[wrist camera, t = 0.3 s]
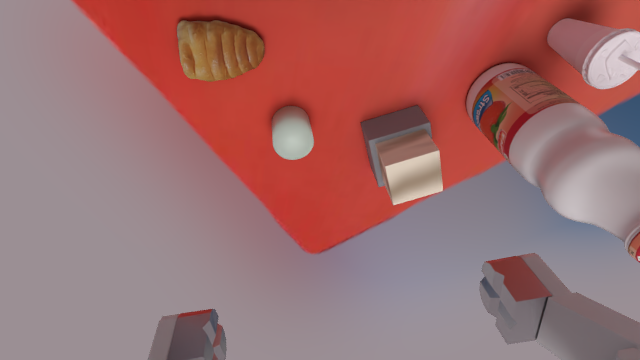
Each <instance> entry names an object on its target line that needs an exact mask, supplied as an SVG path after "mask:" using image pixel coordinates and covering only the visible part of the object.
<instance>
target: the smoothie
mask: <svg viewBox="0 0 640 360" xmlns="http://www.w3.org/2000/svg"><path fill="white" fill-rule="evenodd" d="M547 43H548V45H549V46H550V47H551V48H552V49H553V50H555V51H556V52H557V53H558V54H559V55H560V56H561V57H562V58H564V59H565V60H566V61H567V62H568V63H569V64H570V65H572V66H573V67H574V68H575V69H576V70H577V71H578V72H579V73H580V74H582V75H583V79H584V80H585V82H586V83H587V84H589V85H590V86H593V87H595V88H597V89H609V88H613V87H615V86H618V85H620V84H622V83H623V82H625V81H626V80H628V79H629V78H630V77H631V76H632V75H633V74H634V73H635V72H636V71H637V70H640V32H637V31H636V30H634V29H629V28H626V29H616V28H611V27H606V26H602V25H597V24H593V23H588V22H584V21H579V20H574V19H570V18H566V19H562V20H560V21H558V22H557V23H556V24H555V25H554V26H553V27H552V28H551V29H550V31H549V33H548V36H547Z"/></svg>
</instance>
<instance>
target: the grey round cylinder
mask: <svg viewBox="0 0 640 360" xmlns="http://www.w3.org/2000/svg"><path fill="white" fill-rule="evenodd" d="M272 136H273V147H274V149H275V151H276V153H277V154H278V155H280V156H281V157H283V158H285V159H290V160H295V159H300V158H302V157H304V156H306V155H307V154H308V153H309V152H310V151H311V150H312V148H313V144H314V139H313V134H312V130H311V125H310V121H309V117H308V115H307V113H306V112H305V111H304V110H303V109H301V108H299V107H296V106H286V107H283V108H281V109H279V110H278V111H277V112H276V113H275V114H274V116H273V118H272Z"/></svg>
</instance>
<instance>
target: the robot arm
mask: <svg viewBox="0 0 640 360" xmlns="http://www.w3.org/2000/svg"><path fill="white" fill-rule="evenodd" d="M482 272H483V274H484V275H485V277H484V278H483V279H482V280H481V281H480V295H481V299H482V302H483V304H484V306H485V308H486V310H487V311H488V313H490V314H491V315H493V316H495V317H496V318H497V319H496V327H497V328H498V330H499V332H500V333H501V335H502V337H503V338H504V340H505V342H506V343H507V344H513V343H519V342H526V341H533V340H536V342H537V343H539V344H540V345H542V346H543V347H544V348H546V349H547V350H548V351H550V352H551V353H553V354H554V355H555V356H557V357H558V358H559V359H561V360H640V323H639V322H637V321H635V320H633V319H631V318H629V317H626V316H624V315H622V314H620V313H618V312H616V311H614V310H612V309H610V308H608V307H606V306H604V305H602V304H599V303H597V302H595V301H593V300H591V299H589V298H587V297H585V296H583V295H581V294H579V293H577V292H576V293H571V292H570V291H569V290H568V288H567V287H566V286H565V285H564V284H563V283H562V282H561V280H560V279H559V278H558V277H557V276H556V275H555V274H554V273H553V272H552V270H551V269H550V268H549V267H548V266H547V265H546V263H545V262H543V260H542V259H541V258H540V257H539V255H537V254H535V253H531V254H526V255H520V256H513V257H508V258H502V259H497V260H491V261H486V262H484V264H483V266H482ZM217 322H218V315H217V312H216V310H215V309H208V310H202V311H195V312H188V313H181V314H176V315H169V316H163V317H162V318H161V320H160V321H159V324H158V327H157V330H156V334H155V337H154V340H153V344H152V347H151V350H150V354H149V357H148V360H225V359H226V337H225V333H224V330H223V327H222V326H221V325H219V324H217Z"/></svg>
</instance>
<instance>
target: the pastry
mask: <svg viewBox="0 0 640 360" xmlns="http://www.w3.org/2000/svg"><path fill="white" fill-rule="evenodd" d="M177 37H178V42H179V43H178V46H179V54H180V62H181V65H182V67H183V71H184V73H185V75H186V76H188V78H191V79H194V78H195V79H200V80H205V81H217V80H227V79H229V78H234V77H236V76H238V75H242V74H243V73H245V72H247V71H249V70H251V69H255V68H256V67H257V66H258V65H259V64H260V62H261V61H262V59H263V57H264V52H265V50H264V42H263V41H262V40H261V38H260V37H259V36H258V35H257V34H256V33H255V32H254V31H251V30H248V29H244V28H241V27H240V26H238V25H233V24H229V23H227V22H222V21H218V20H213V21H211V22H206V21H192V22H189V21H185V20H184V21H181V22H179V24H178V26H177Z"/></svg>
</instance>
